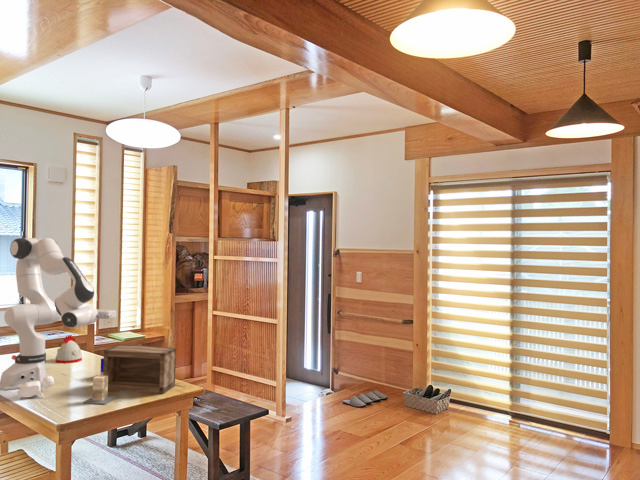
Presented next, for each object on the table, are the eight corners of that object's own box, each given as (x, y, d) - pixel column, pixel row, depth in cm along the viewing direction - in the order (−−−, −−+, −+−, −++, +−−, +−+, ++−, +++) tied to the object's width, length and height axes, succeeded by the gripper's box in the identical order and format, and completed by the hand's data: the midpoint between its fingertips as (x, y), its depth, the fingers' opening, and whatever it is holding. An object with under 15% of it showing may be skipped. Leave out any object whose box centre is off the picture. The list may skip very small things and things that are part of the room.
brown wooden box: (163, 394, 242) (164, 353, 242) (102, 390, 245) (103, 350, 245) (174, 386, 255) (175, 347, 256) (117, 382, 259) (118, 344, 259)
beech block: (102, 401, 227) (102, 378, 227) (92, 400, 227) (93, 377, 227) (107, 398, 231) (108, 375, 231) (97, 397, 231) (98, 375, 232)
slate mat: (104, 404, 224) (104, 403, 224) (83, 403, 225) (83, 401, 225) (116, 398, 233) (116, 396, 233) (95, 396, 234) (95, 395, 235)
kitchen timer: (50, 362, 298) (51, 336, 298) (68, 357, 311) (69, 332, 312) (69, 364, 294) (70, 338, 294) (87, 359, 307) (88, 334, 307)
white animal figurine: (22, 407, 226) (58, 390, 234) (14, 390, 225) (51, 374, 232) (22, 402, 234) (57, 386, 241) (14, 385, 232) (50, 370, 239)
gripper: (108, 309, 247) (122, 306, 261) (68, 307, 249) (84, 304, 263) (108, 322, 247) (122, 318, 261) (68, 320, 249) (84, 317, 263)
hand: (103, 311), depth 262 cm, fingers open, 8 cm apart
